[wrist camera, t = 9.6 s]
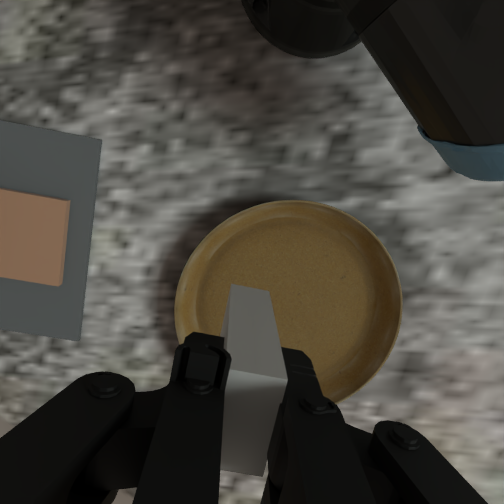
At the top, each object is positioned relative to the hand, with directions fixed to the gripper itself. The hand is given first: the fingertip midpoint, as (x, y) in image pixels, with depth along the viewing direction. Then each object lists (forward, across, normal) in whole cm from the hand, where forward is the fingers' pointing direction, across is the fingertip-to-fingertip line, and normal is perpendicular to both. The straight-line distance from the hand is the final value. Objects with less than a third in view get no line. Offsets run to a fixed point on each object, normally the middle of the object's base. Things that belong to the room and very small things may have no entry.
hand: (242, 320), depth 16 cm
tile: (+28, -17, -6) cm, 33 cm away
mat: (+29, -22, -7) cm, 37 cm away
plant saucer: (+30, +7, -9) cm, 32 cm away
